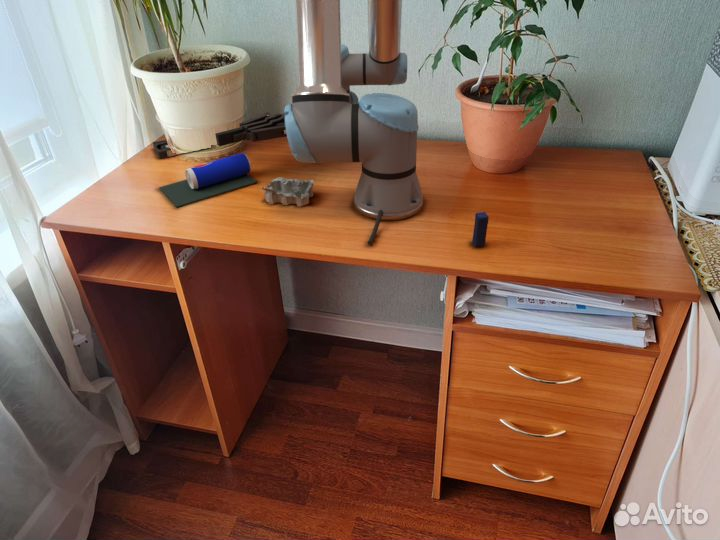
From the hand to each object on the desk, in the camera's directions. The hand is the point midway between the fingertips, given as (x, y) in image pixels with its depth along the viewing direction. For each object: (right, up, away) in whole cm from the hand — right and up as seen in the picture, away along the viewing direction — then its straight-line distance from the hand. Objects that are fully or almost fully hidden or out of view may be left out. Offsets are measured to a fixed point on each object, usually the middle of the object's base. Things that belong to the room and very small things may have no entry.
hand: (217, 140), depth 122 cm
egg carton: (+17, -14, -2) cm, 22 cm away
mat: (-3, -10, +4) cm, 11 cm away
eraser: (+56, -26, -20) cm, 65 cm away
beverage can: (+6, -4, +7) cm, 10 cm away
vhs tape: (-16, +3, +24) cm, 29 cm away
